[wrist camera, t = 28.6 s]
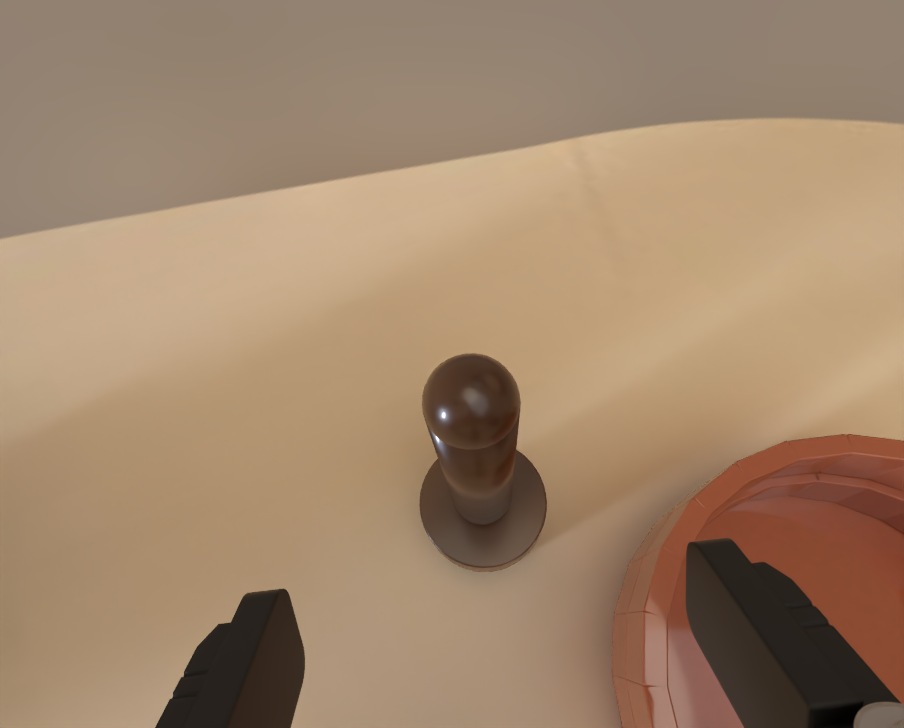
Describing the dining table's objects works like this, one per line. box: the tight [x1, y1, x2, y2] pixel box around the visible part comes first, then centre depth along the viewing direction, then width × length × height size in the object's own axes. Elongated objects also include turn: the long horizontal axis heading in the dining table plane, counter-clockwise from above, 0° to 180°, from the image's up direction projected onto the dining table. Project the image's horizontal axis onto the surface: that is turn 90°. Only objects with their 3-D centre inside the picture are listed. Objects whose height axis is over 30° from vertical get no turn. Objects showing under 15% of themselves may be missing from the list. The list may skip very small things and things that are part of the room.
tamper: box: [420, 354, 547, 572], centre depth 18 cm, size 5×5×16 cm
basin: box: [612, 434, 904, 728], centre depth 19 cm, size 17×17×6 cm
